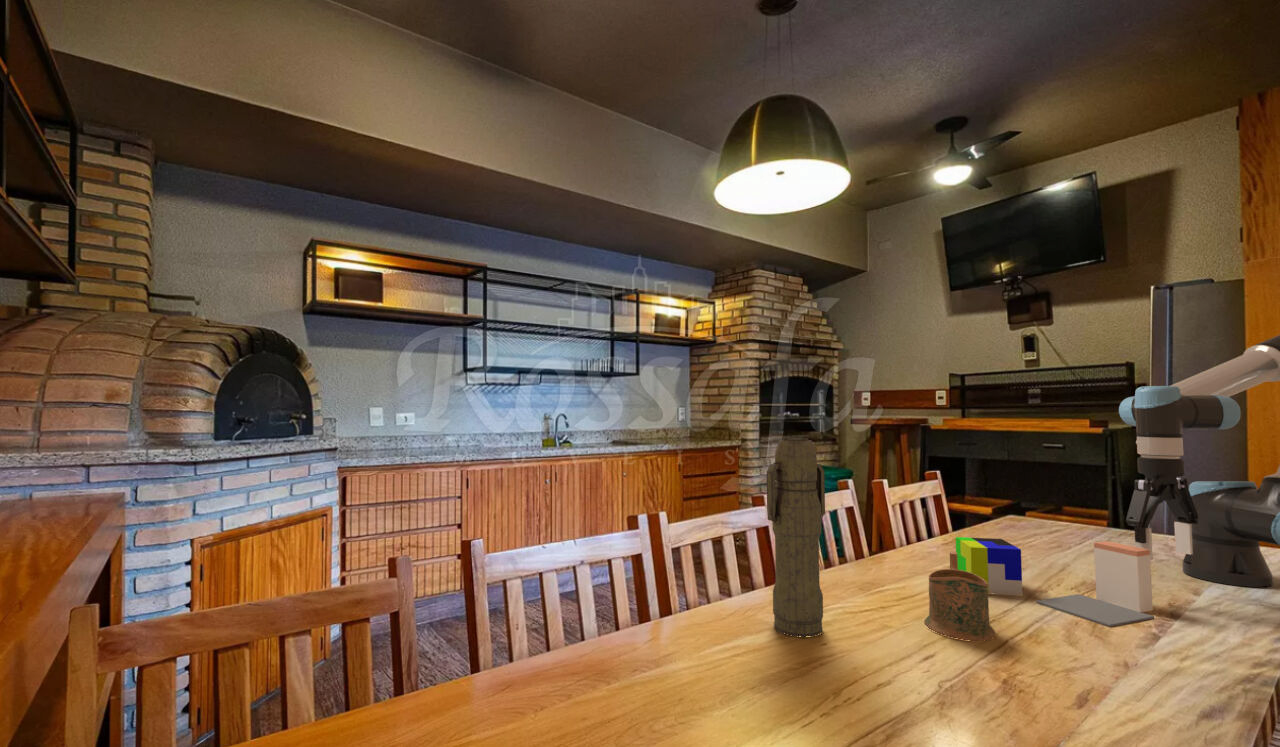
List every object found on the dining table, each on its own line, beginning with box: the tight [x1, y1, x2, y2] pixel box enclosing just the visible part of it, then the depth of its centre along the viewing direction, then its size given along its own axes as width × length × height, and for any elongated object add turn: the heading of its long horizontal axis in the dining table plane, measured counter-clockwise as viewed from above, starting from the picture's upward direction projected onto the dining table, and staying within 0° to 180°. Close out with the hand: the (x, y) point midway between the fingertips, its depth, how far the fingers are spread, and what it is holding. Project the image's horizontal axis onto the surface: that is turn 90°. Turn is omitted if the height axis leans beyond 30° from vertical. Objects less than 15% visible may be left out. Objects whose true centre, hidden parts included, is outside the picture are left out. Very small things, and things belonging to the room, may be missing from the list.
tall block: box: [1093, 540, 1154, 613], centre depth 120 cm, size 4×8×12 cm, turn 20°
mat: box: [1035, 593, 1155, 628], centre depth 116 cm, size 13×14×1 cm
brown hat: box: [923, 550, 997, 642], centre depth 110 cm, size 12×18×12 cm, turn 155°
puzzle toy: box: [955, 536, 1023, 596], centre depth 131 cm, size 10×10×10 cm
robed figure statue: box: [766, 437, 826, 638], centre depth 108 cm, size 9×12×35 cm
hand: (1164, 555), depth 124 cm, fingers open, 13 cm apart
